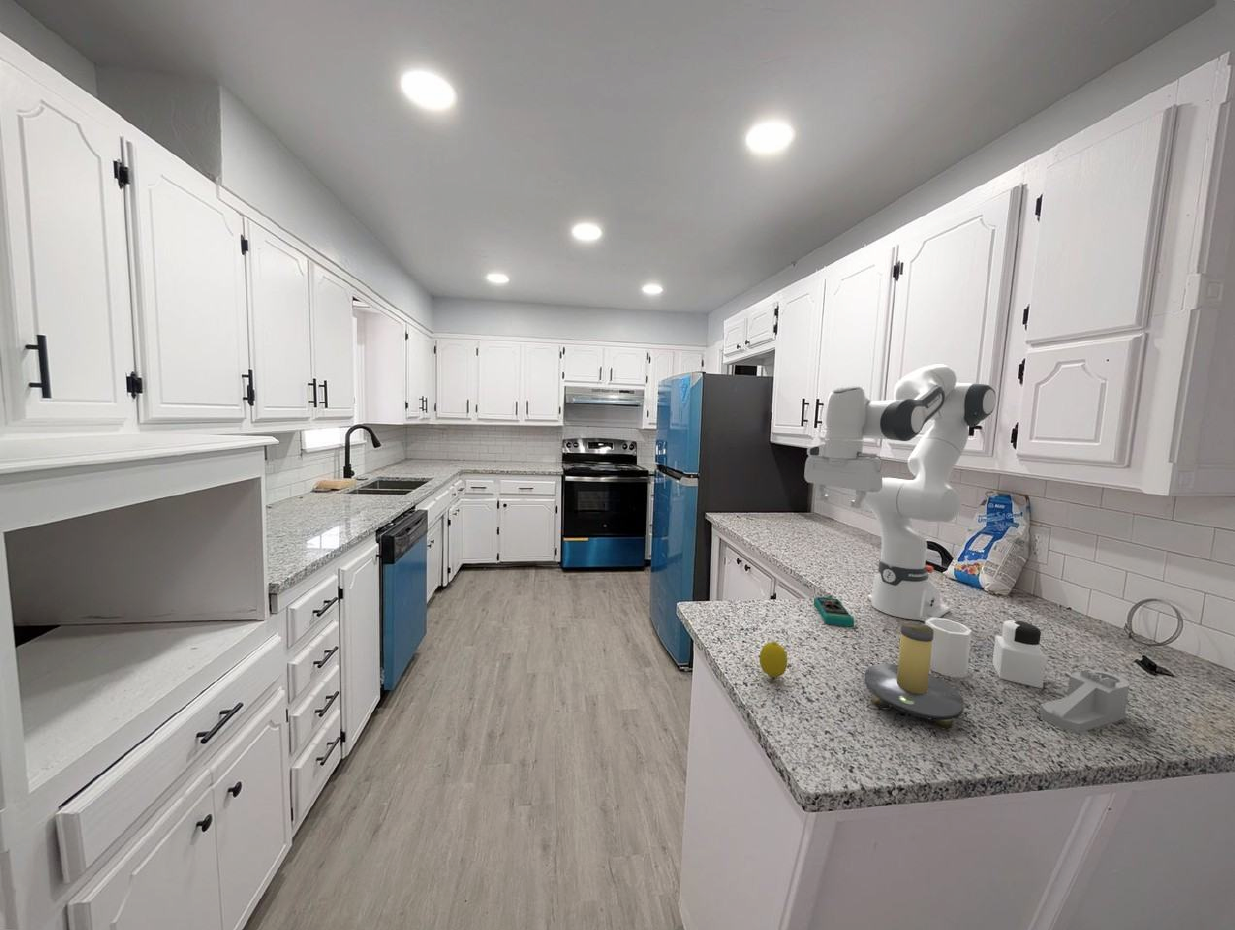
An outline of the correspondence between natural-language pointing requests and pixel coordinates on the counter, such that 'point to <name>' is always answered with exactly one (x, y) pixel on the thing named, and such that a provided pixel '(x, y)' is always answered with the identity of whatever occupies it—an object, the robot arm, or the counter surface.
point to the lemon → (773, 659)
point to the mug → (949, 647)
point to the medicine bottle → (1019, 654)
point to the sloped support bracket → (1088, 701)
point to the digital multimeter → (833, 611)
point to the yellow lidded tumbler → (914, 657)
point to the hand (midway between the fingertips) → (838, 504)
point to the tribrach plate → (914, 696)
